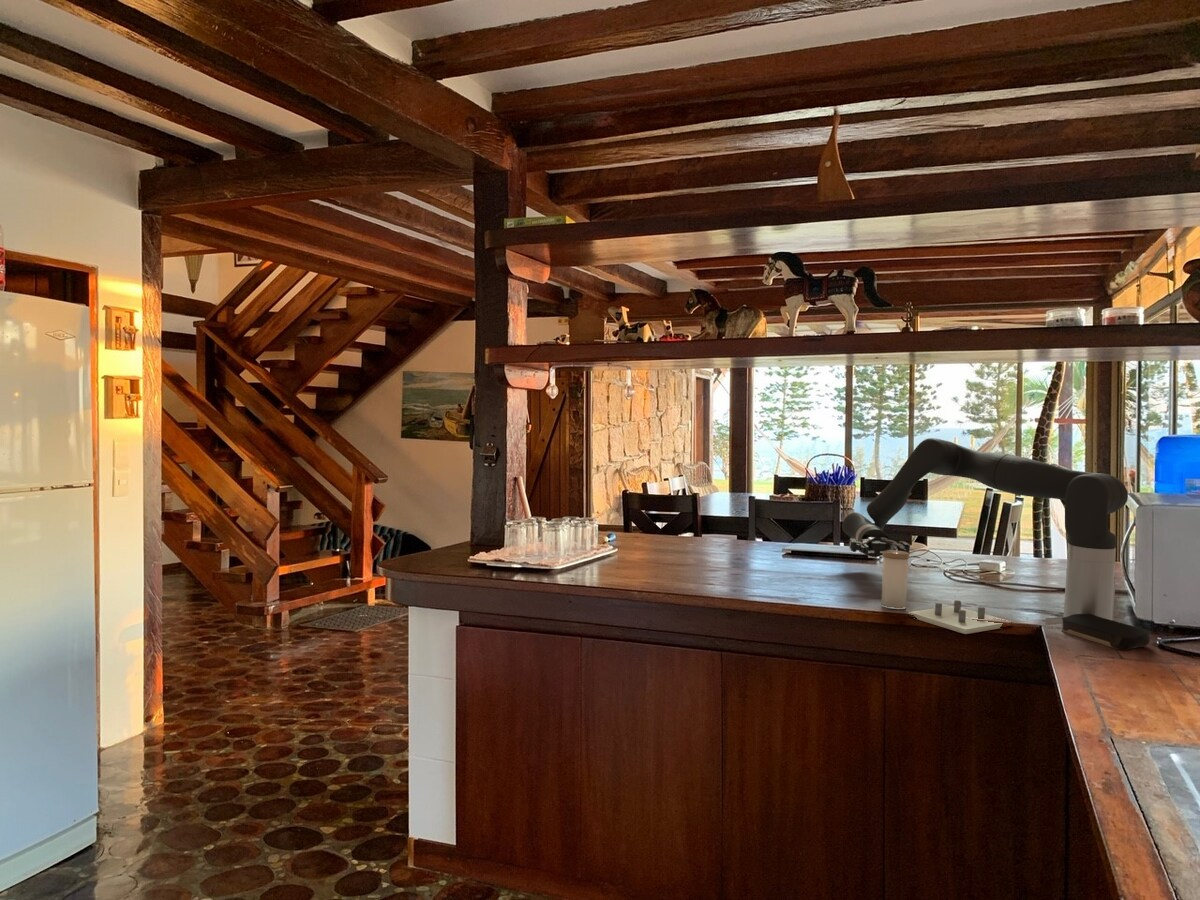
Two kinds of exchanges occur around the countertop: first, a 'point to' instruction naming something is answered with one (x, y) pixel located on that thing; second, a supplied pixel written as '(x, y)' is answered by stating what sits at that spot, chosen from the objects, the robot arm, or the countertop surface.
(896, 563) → the canister
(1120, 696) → the countertop surface
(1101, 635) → the black sponge
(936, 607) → the plate
